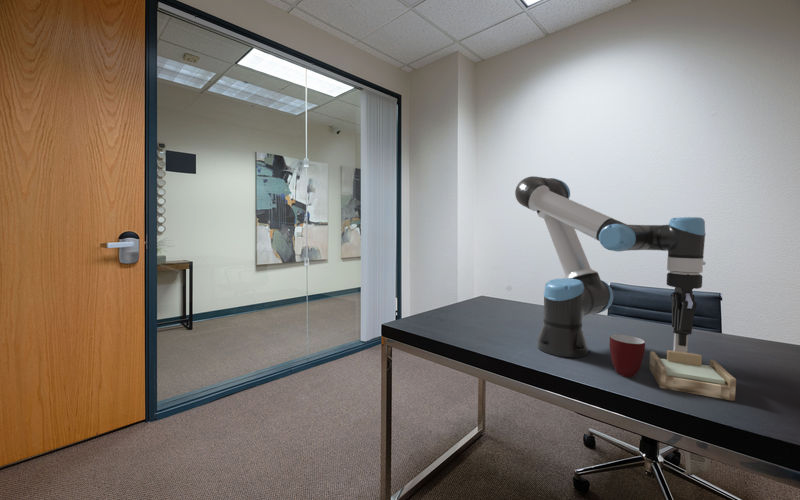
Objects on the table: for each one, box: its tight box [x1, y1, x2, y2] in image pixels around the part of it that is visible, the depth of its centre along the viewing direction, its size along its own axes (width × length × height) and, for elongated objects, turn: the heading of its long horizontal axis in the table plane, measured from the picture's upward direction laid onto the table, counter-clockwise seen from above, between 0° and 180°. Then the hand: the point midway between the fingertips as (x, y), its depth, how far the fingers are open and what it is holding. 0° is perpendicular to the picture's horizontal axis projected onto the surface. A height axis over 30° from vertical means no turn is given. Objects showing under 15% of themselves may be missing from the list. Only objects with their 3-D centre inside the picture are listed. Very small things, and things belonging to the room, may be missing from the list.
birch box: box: [648, 351, 737, 402], centre depth 86 cm, size 14×13×5 cm
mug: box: [609, 334, 646, 378], centre depth 92 cm, size 11×8×10 cm
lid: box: [658, 349, 725, 385], centre depth 86 cm, size 11×10×4 cm
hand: (679, 355), depth 93 cm, fingers closed
